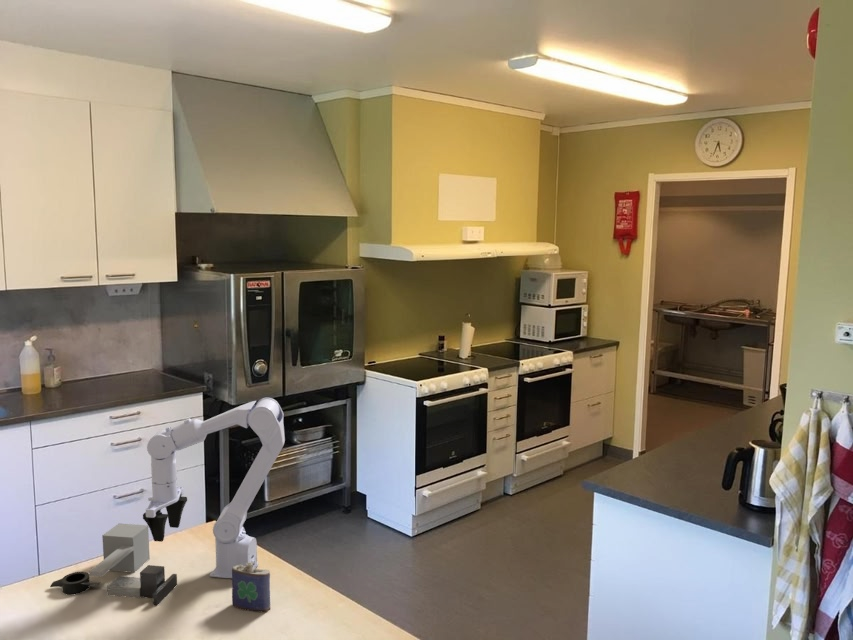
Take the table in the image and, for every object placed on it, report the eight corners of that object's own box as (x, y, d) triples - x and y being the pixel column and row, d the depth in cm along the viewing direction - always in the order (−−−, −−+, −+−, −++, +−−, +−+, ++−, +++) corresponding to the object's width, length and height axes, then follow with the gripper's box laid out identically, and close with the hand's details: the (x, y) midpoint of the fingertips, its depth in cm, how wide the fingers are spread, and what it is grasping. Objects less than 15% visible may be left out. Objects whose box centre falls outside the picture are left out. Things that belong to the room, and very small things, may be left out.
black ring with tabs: (73, 603, 155) (72, 591, 155) (47, 590, 160) (47, 578, 160) (104, 588, 162) (103, 576, 161) (79, 576, 167) (78, 565, 166)
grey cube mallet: (149, 559, 175) (148, 525, 174) (102, 600, 156) (100, 563, 154) (120, 556, 176) (118, 523, 175) (70, 597, 157) (68, 560, 155)
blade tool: (177, 585, 163) (176, 561, 162) (157, 605, 154) (156, 580, 153) (124, 580, 165) (123, 556, 164) (101, 600, 156) (100, 575, 155)
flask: (272, 607, 154) (271, 562, 152) (266, 614, 151) (264, 568, 149) (236, 601, 156) (234, 556, 155) (228, 607, 153) (227, 562, 152)
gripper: (164, 468, 173) (166, 520, 175) (132, 490, 159) (135, 546, 161) (190, 470, 172) (192, 522, 174) (161, 492, 158) (163, 548, 160)
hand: (166, 533), depth 167 cm, fingers open, 7 cm apart
